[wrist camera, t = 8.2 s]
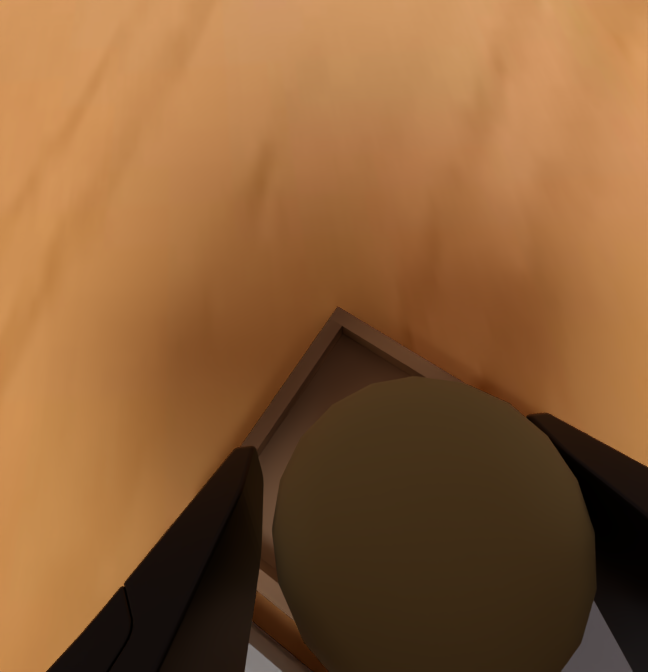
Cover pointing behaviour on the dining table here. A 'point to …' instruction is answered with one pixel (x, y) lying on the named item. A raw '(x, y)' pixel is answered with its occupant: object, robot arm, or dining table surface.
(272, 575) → the walnut tray
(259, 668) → the grey tray
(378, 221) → the dining table surface
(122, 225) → the dining table surface
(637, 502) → the robot arm
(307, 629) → the brown rounded upright piece
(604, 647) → the beige and grey cube
